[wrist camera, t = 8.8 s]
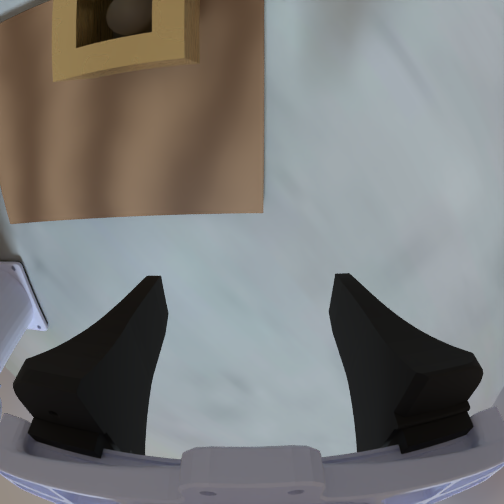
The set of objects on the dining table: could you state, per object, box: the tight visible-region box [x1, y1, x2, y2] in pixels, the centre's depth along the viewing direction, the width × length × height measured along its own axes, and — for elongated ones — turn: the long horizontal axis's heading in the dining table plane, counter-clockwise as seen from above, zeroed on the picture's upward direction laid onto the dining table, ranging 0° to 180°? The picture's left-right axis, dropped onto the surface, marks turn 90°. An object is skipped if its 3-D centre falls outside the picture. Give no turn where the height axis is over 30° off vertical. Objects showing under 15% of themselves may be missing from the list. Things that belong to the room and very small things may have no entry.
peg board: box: [0, 0, 264, 224], centre depth 15 cm, size 20×16×6 cm
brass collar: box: [52, 0, 200, 82], centre depth 10 cm, size 6×6×4 cm
